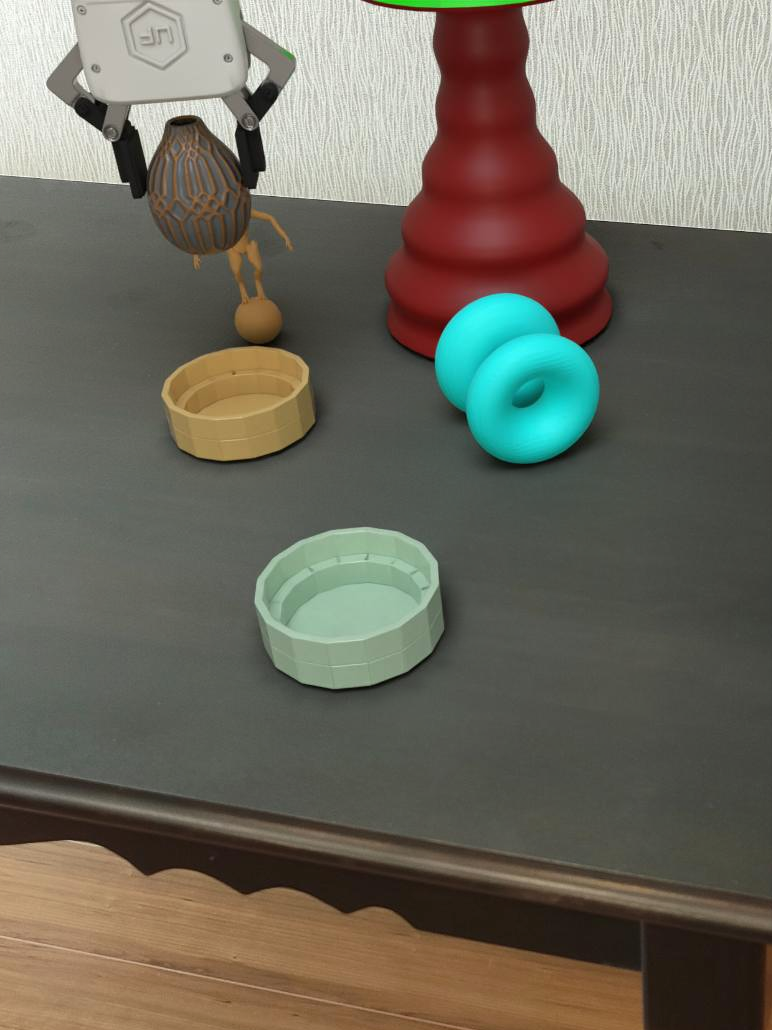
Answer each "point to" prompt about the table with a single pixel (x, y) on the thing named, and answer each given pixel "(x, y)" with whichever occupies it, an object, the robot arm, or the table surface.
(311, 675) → the near bowl
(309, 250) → the table surface
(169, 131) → the vase
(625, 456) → the table surface
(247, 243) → the figurine
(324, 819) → the table surface
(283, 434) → the far bowl
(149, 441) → the table surface
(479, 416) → the donuts
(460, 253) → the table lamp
